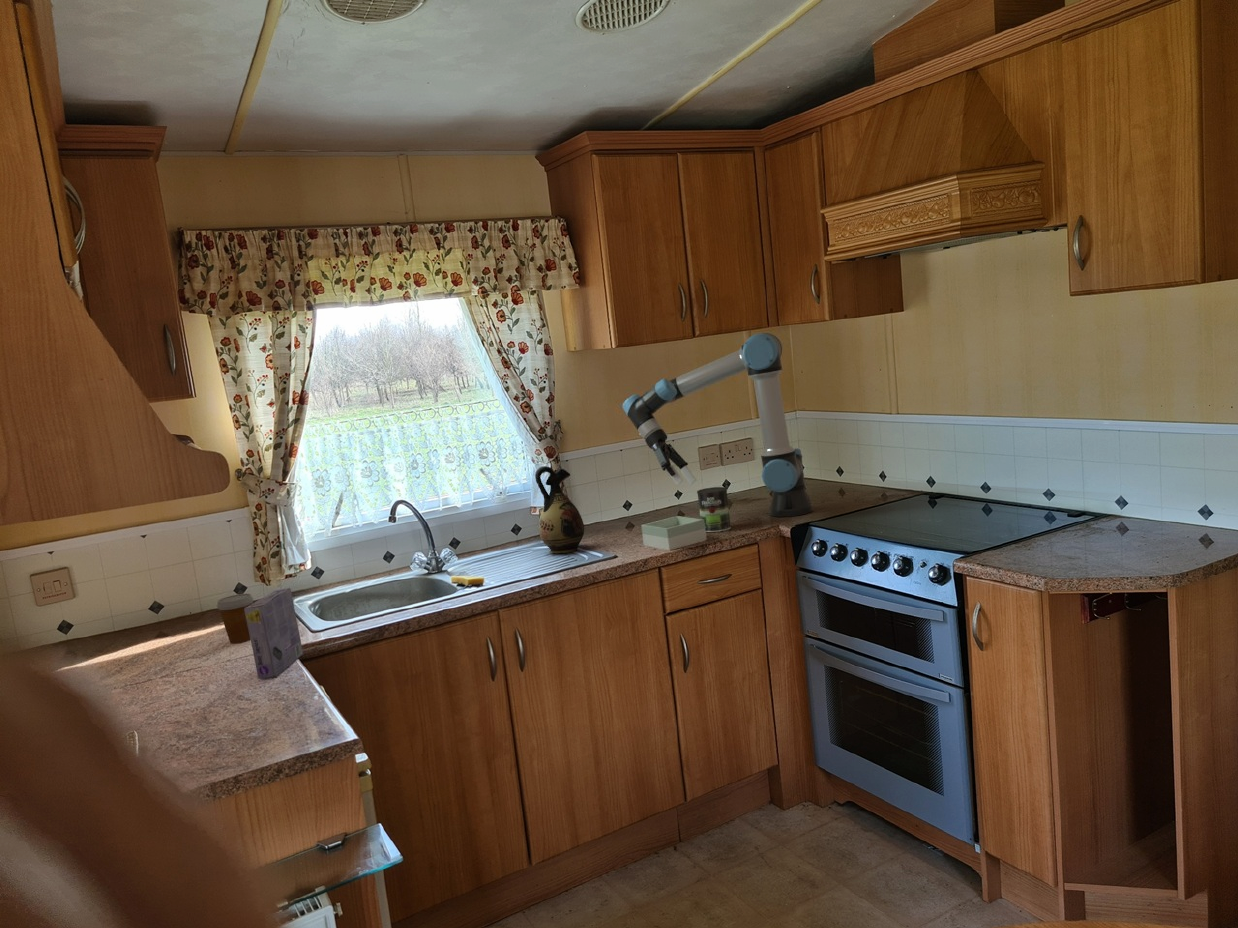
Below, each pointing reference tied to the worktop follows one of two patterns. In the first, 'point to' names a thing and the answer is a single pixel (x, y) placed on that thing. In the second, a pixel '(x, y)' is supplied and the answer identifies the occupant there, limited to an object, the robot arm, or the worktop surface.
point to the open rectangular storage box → (673, 532)
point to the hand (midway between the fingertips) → (686, 482)
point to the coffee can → (714, 509)
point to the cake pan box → (273, 633)
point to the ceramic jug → (558, 514)
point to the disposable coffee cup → (235, 616)
